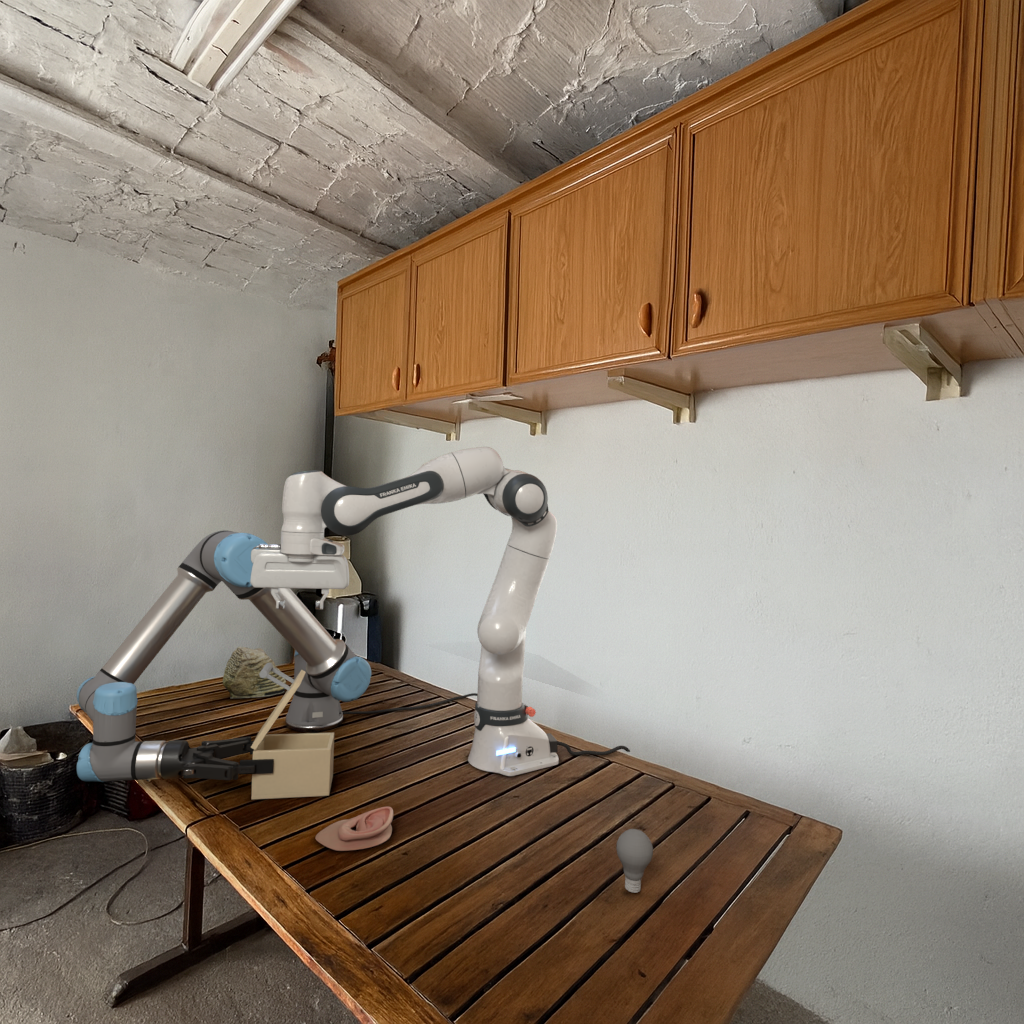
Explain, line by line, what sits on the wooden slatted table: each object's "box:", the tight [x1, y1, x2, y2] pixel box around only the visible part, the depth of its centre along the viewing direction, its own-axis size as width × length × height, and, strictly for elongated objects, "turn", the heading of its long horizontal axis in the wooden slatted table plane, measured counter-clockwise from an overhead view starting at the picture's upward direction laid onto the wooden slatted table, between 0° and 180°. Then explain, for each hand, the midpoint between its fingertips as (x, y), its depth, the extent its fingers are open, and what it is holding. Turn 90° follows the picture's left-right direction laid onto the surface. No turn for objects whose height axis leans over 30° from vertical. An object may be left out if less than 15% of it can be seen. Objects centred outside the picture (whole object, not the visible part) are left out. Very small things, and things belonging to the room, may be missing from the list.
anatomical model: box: [315, 806, 394, 852], centre depth 119 cm, size 13×4×12 cm
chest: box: [250, 732, 335, 800], centre depth 137 cm, size 16×10×10 cm, turn 101°
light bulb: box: [615, 828, 654, 894], centre depth 106 cm, size 6×6×10 cm
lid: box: [251, 663, 306, 750], centre depth 136 cm, size 16×10×8 cm
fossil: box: [222, 646, 287, 699], centre depth 198 cm, size 9×18×15 cm, turn 132°
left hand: (277, 756), depth 137 cm, fingers closed on chest, 10 cm apart
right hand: (299, 608), depth 137 cm, fingers open, 7 cm apart
